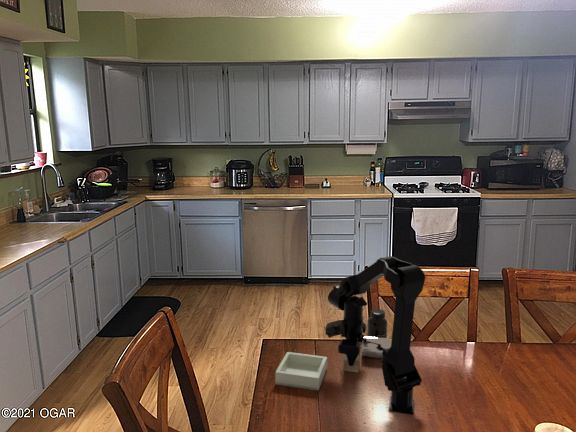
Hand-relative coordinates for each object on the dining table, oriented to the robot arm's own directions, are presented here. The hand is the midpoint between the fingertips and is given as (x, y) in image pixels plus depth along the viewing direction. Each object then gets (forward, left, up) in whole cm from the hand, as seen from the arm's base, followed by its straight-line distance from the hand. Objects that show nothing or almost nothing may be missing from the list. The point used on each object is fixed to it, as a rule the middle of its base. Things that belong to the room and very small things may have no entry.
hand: (352, 362), depth 152 cm
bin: (-9, +14, -2) cm, 17 cm away
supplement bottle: (+19, -6, -2) cm, 20 cm away
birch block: (0, 0, -2) cm, 2 cm away
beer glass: (+11, -17, +1) cm, 20 cm away
